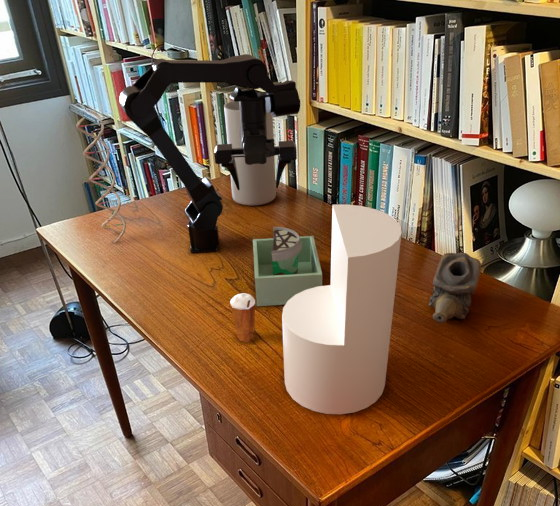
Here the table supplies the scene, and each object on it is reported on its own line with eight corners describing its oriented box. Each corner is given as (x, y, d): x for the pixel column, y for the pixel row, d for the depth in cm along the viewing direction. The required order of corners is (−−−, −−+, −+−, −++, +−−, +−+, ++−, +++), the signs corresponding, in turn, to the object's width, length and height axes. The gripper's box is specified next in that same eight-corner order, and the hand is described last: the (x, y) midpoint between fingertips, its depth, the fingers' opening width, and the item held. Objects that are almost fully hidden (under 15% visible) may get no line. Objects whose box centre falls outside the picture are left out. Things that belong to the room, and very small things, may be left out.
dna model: (106, 232, 147) (76, 110, 128) (131, 231, 147) (104, 108, 128) (101, 244, 141) (68, 118, 122) (126, 243, 141) (98, 116, 122)
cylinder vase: (228, 206, 157) (218, 110, 141) (238, 189, 167) (230, 98, 151) (271, 207, 155) (267, 111, 140) (279, 190, 165) (275, 98, 149)
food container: (302, 294, 118) (302, 251, 112) (273, 295, 118) (271, 252, 112) (302, 266, 128) (301, 224, 121) (275, 266, 128) (273, 225, 122)
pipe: (473, 291, 118) (482, 248, 111) (475, 353, 102) (485, 306, 95) (429, 287, 120) (436, 244, 113) (424, 347, 103) (431, 300, 97)
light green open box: (256, 306, 116) (254, 278, 112) (254, 265, 130) (253, 239, 126) (322, 302, 117) (322, 274, 112) (313, 262, 130) (313, 235, 126)
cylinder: (375, 347, 104) (388, 201, 86) (394, 411, 90) (414, 253, 73) (282, 352, 104) (276, 207, 86) (287, 417, 90) (281, 260, 73)
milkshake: (242, 349, 105) (237, 303, 99) (230, 335, 109) (225, 290, 102) (263, 342, 106) (260, 296, 100) (251, 328, 110) (247, 283, 104)
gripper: (209, 132, 118) (217, 204, 128) (297, 128, 119) (298, 199, 129) (212, 118, 127) (219, 186, 137) (294, 114, 127) (295, 182, 137)
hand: (257, 188), depth 135 cm, fingers open, 9 cm apart
